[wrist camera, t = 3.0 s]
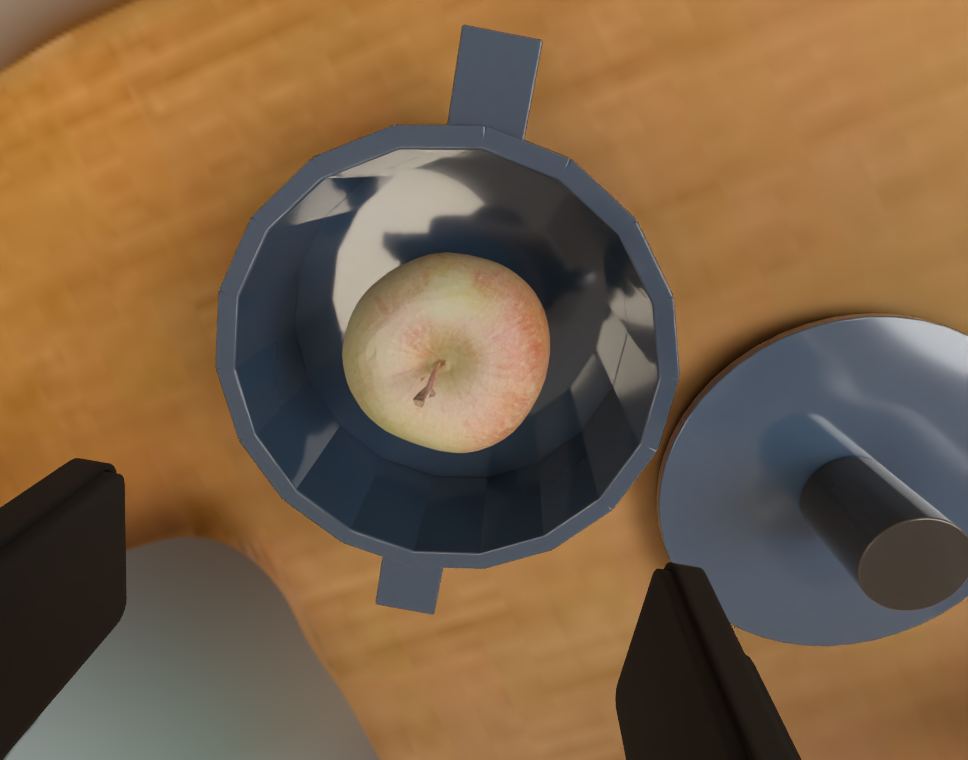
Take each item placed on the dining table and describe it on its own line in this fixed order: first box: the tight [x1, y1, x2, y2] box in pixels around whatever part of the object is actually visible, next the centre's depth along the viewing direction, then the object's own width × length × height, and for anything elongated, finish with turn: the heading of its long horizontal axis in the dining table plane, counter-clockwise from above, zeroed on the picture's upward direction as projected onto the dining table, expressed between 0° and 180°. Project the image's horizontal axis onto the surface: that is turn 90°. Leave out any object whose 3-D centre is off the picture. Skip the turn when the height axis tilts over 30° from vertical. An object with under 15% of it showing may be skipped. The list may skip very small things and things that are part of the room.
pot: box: [215, 25, 680, 615], centre depth 24 cm, size 15×21×6 cm
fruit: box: [342, 252, 550, 453], centre depth 23 cm, size 8×7×8 cm
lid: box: [656, 313, 968, 646], centre depth 25 cm, size 16×16×6 cm
